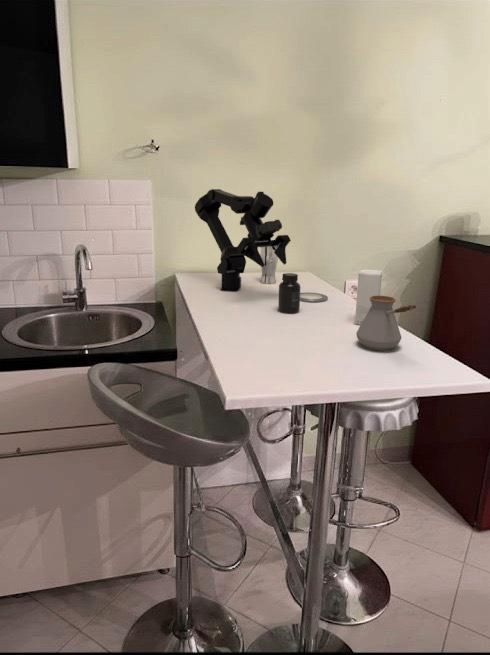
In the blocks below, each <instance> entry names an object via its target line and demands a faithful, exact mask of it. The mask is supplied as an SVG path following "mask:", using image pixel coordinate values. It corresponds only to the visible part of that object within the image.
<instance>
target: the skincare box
mask: <svg viewBox="0 0 490 655" xmlns="http://www.w3.org/2000/svg"><path fill="white" fill-rule="evenodd" d="M357 277H358V278H357V279H358V280H357V288H356V289H357V292H356V304H355V306H356V307H355V316H354V317H355V318H354V325H358V326H360V325H361V324H362V322H363V320H364V318H365V316H366V315H367V313H368V311H369V309H370V308H371V306H372V304H371V301H370V297H371V296H381V290H382V278H383V270H381V269H365V268H363V269H361V270H359V273H358V276H357Z"/></svg>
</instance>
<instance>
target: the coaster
mask: <svg viewBox="0 0 490 655" xmlns="http://www.w3.org/2000/svg"><path fill="white" fill-rule="evenodd" d="M328 299H329V296H327V295H326V294H323V293H319V292H318V293H317V292H309V291H308V292H307V291H306V292H305V291H304V292H300V302H304V303H323V302H324V303H325V302H326V301H328Z"/></svg>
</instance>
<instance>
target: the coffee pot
mask: <svg viewBox="0 0 490 655" xmlns="http://www.w3.org/2000/svg"><path fill="white" fill-rule="evenodd" d="M370 301H371V304H372V306H371V308H370V309H369V311H368V313H367V315H366V316H365V318H364V320H363V322H362V324H361V325H359V327H358V329H357V331H356V333H355V334H356V338H357V340H358V342H360V343H361V345H362V346H363V347H365V348H366V349H370V350H373V351H379V352H380V351H383V352H385V351H390V350H392V349H393V348H395V347H396V346H398V345H399V343H400V342H401V340H402V335H401V332H400V329H399V325H398V322H397V319H396V316H395V314H398V313H405V312H408V311H410V314H412V315H414V312H412V311H413V310H414V309H416V308H417V309H418V311H417V313H416V315H418V314H419V313H420V308H419V307H418V306H416V305H414V304H413V305H410V304H409V305H407V306H402V307H398V308H396V309H393V305H394V303H396V298H394V297H392V296H388V295H380V296H371V297H370Z"/></svg>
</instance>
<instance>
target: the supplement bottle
mask: <svg viewBox="0 0 490 655" xmlns="http://www.w3.org/2000/svg"><path fill="white" fill-rule="evenodd" d="M298 277H299V276H298V273H294V272H286V273H283V274H282V278H281V280H282V282H279V284H278V303H277V304H278V309H277V310H278V311H279V312H280V313H283V314H297V313H299V312H300V307H301V306H300V305H301V301H300V293H301V284H300V283H299V282H298V280H299V278H298Z"/></svg>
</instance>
